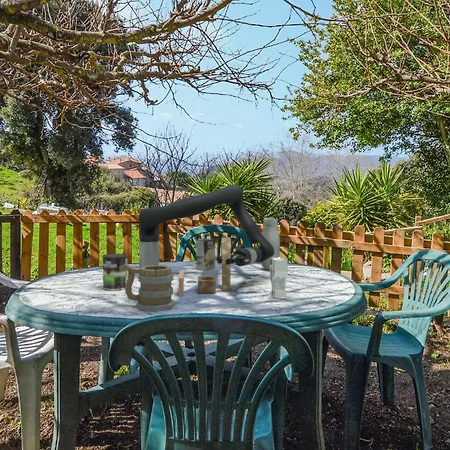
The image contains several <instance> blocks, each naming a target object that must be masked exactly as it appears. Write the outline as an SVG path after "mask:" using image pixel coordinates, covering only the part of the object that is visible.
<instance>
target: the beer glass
mask: <svg viewBox="0 0 450 450" xmlns="http://www.w3.org/2000/svg"><path fill="white" fill-rule="evenodd" d="M288 268H289V267H288V258H286V257H280V258H271V259H270V270H269V278H270V282H271V292H270V297H271V298H272V297H276V298H275V299H278V298H281V297H286V298H287V294H286V284H287V279H288V270H289V269H288ZM281 299H282V298H281Z"/></svg>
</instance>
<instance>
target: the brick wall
mask: <svg viewBox="0 0 450 450" xmlns="http://www.w3.org/2000/svg"><path fill="white" fill-rule="evenodd" d="M184 283H185V271H184V270H179V273H178V296H179V297H182V296H184V291H185V290H184V289H185V284H184Z"/></svg>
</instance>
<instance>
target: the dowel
mask: <svg viewBox="0 0 450 450" xmlns="http://www.w3.org/2000/svg"><path fill="white" fill-rule="evenodd" d="M231 243H232V241H231V237H221V255H222V263H221V291H222V292H227V293H228V292H231V271H232V270H231V267H232V266H231V265H232V264H229V265H226V259H230V258H231V254H232V253H231V251H232V250H231V246H232V245H231Z"/></svg>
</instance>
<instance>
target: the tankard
mask: <svg viewBox="0 0 450 450" xmlns="http://www.w3.org/2000/svg"><path fill="white" fill-rule="evenodd" d="M119 269H120V271H123V270H127V282H126V285H125V289H124V292H125V293H124V294H126V297H127V298H128V300H131V301H134V302H136V301H137V302H136V307H137V308H138V307H139V308H140V309H139V308H138V309H139V310H141V309H142V310H141V311H143V310H150V311H149V312H161V311H168V310H171V309H172V308H174V307H175V306H176V301H175V300H174V299H172V295H173V294H174V287H172V282H173V281H174V274H173V273H172V267H171V266H168V265H163V264H162V265H161V264H159V265H156V266H155V265H152V266H144V267H142V268H140V269H139V268H136V267H133V266H131V265H129V264H128V263H127V264H124V265H122V266H120V267H119ZM135 274H138V275H137V276H138V280H137V281H138V282H139V283H140V285H139V288H138V289H137V290H138V294H134V293H133V291H132V288H133V287H132V286H133V284H134V280H135ZM139 274H140V275H139Z"/></svg>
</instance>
